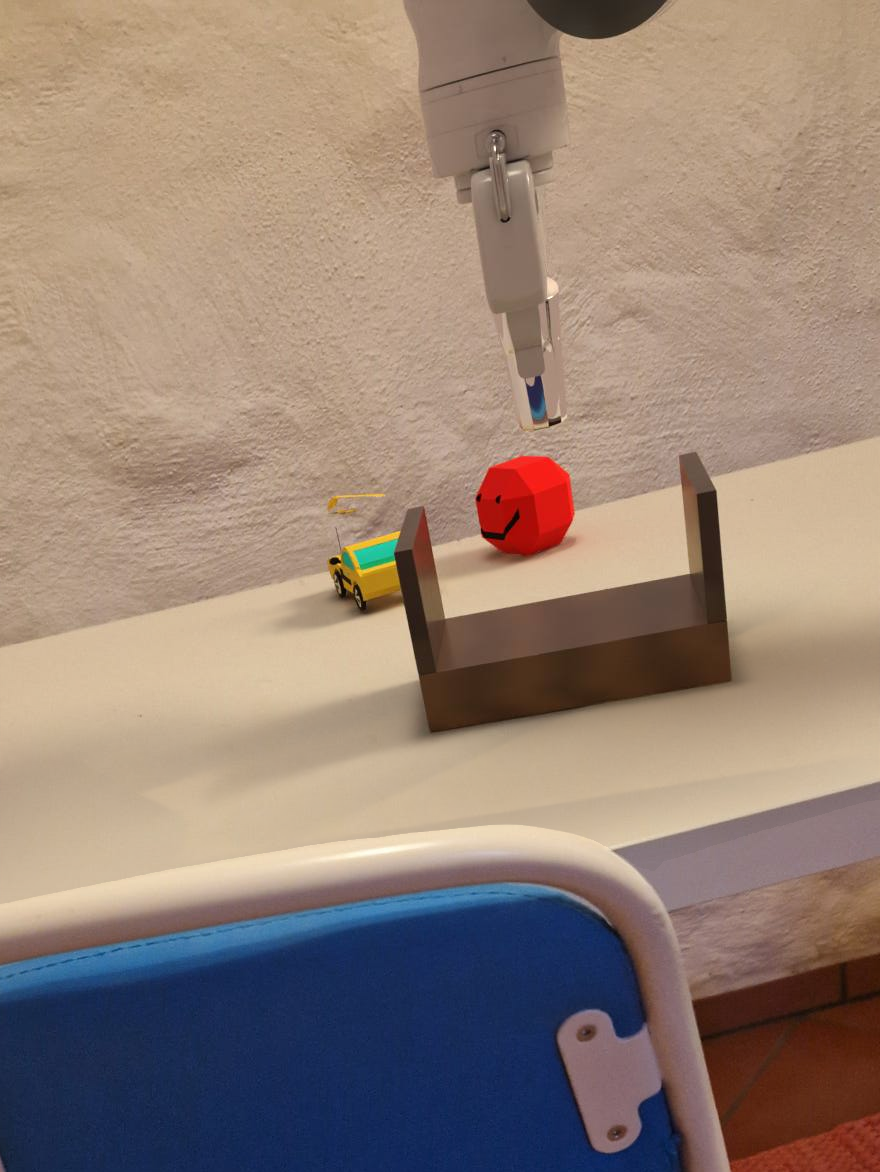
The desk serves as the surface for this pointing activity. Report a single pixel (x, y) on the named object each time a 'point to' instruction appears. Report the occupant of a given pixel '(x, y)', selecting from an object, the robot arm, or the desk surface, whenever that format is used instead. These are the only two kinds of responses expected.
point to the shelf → (570, 631)
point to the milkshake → (543, 394)
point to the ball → (525, 505)
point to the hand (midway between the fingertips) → (533, 370)
